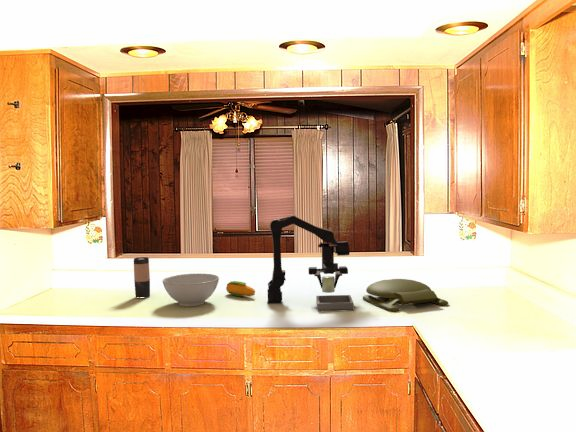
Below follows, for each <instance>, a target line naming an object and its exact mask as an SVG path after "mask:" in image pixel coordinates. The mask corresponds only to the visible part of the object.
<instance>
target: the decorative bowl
mask: <svg viewBox="0 0 576 432" xmlns="http://www.w3.org/2000/svg"><path fill="white" fill-rule="evenodd" d="M219 280H220V277H219V276H218V275H217V274H212V273H184V274H183V273H182V274H176V275H171V276H168V277H167V276H166V277H165V278H163V279H162V284H163V287H164V290H165V291H166V292H167V294H168V295H169V297H170V298H172V300H174V301H175V302H177V303H178V305H179V306H182V307H195V306H196V305H197V306H201V305H203V303H204V304H205V303H206V300H208V299H209V298H210V297H211V296H212V295H213V294H214V293H215V290H216V289H217V287H218V284H219Z"/></svg>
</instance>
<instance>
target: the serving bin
mask: <svg viewBox="0 0 576 432" xmlns="http://www.w3.org/2000/svg"><path fill="white" fill-rule="evenodd" d="M315 297H316V298H315V300H316V301H315V302H316V308H317V309H316V310H317V312H351V311H353V312H354V310H355V308H354V306H355V305H354V300H353V299H352V295H350V294H339V295H338V294H336V295H335V294H333V295H327V294H326V295H316V296H315Z"/></svg>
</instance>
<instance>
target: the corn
mask: <svg viewBox="0 0 576 432" xmlns="http://www.w3.org/2000/svg"><path fill="white" fill-rule="evenodd" d="M225 289H226V291H227V293H228V294H229V295H231V296H236V297H240V298H244V297H245V296H246V297H252V296H255V293H256V290H255V289H254V288H252V287H251V286H250V285H249V286H248V285H247V282H243V281H237V280H233V281H232V280H231V281H230V282H228V283H227V285H226V287H225Z"/></svg>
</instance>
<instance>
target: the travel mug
mask: <svg viewBox="0 0 576 432" xmlns="http://www.w3.org/2000/svg"><path fill="white" fill-rule="evenodd" d="M150 273H151V272H150V259H149V257H147V256H145V257H144V256H142V257H135V258H133V275H134V277H133V279H134V290H135V291H134V293H135V298H136V297H148V296H150V297H151V279H150V278H151V276H150V275H151V274H150ZM148 298H149V297H148Z"/></svg>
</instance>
